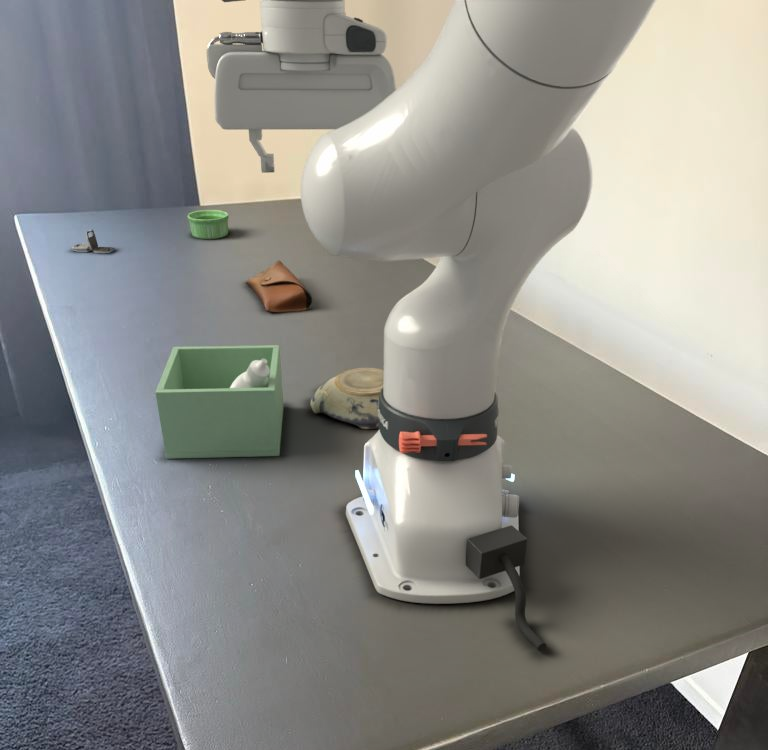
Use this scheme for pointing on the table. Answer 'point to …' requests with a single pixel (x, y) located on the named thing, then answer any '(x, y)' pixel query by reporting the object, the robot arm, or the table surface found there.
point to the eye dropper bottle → (253, 376)
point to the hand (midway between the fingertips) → (309, 171)
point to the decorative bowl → (351, 397)
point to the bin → (219, 403)
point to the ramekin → (208, 224)
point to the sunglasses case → (280, 290)
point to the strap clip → (91, 245)
